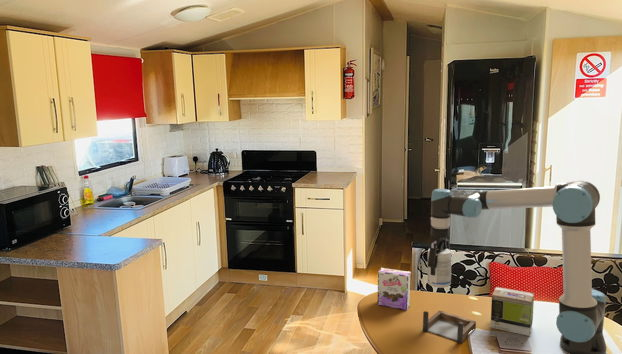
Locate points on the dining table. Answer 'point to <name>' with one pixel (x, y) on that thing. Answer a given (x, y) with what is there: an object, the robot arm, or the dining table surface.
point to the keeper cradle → (448, 326)
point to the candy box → (394, 288)
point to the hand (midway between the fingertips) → (439, 278)
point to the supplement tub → (442, 269)
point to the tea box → (512, 310)
